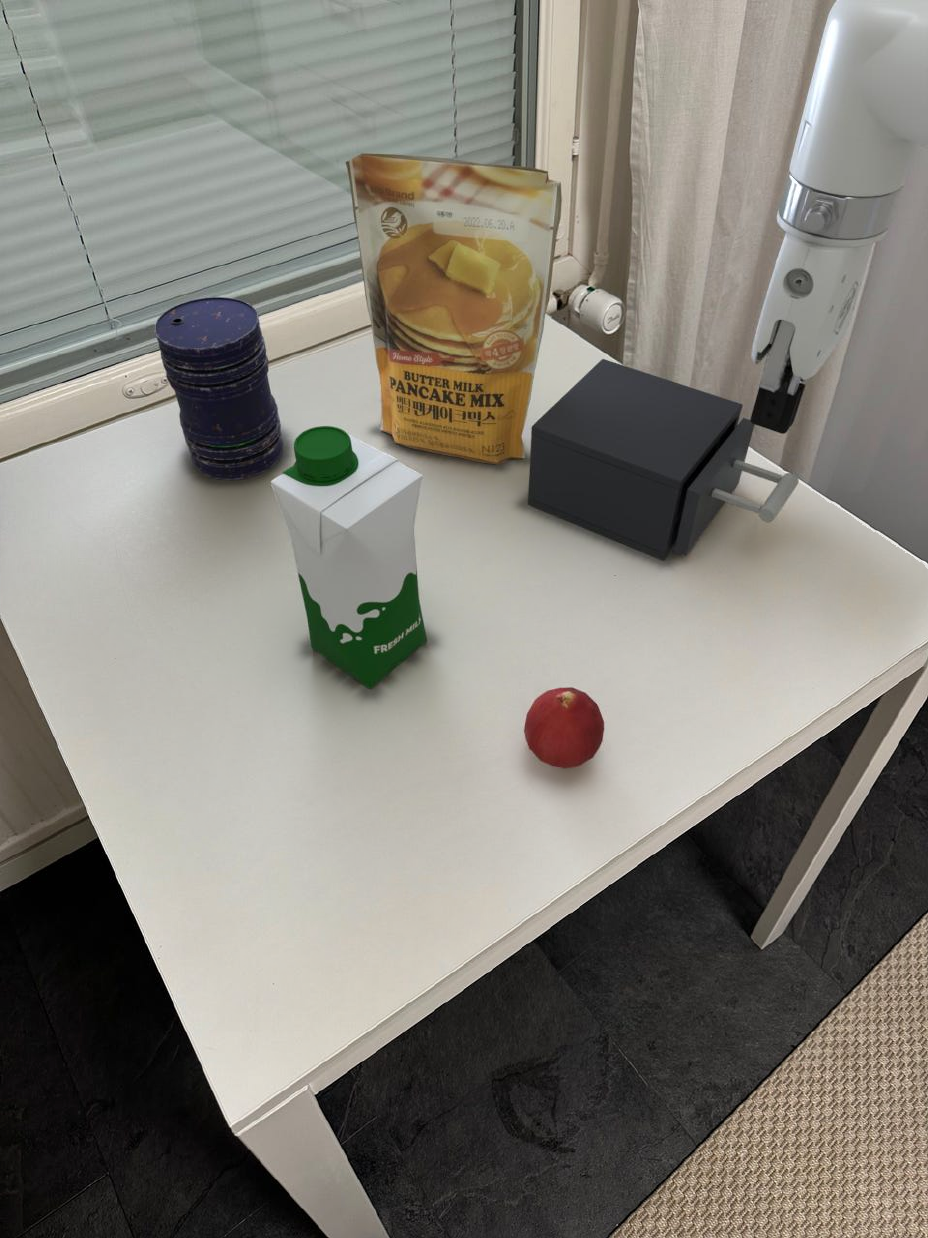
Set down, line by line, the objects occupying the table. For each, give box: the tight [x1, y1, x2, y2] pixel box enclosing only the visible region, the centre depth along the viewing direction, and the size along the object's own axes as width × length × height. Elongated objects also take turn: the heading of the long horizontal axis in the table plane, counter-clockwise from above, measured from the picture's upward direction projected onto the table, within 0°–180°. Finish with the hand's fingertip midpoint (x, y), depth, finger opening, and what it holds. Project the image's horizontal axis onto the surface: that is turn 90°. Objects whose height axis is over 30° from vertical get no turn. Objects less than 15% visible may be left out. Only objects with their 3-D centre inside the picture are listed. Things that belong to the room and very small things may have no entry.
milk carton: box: [270, 425, 428, 690], centre depth 69 cm, size 9×9×20 cm
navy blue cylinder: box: [154, 296, 285, 481], centre depth 89 cm, size 10×10×15 cm
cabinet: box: [527, 358, 743, 561], centre depth 86 cm, size 15×14×9 cm
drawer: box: [673, 417, 800, 557], centre depth 84 cm, size 20×13×7 cm, turn 56°
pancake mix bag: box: [344, 152, 563, 466], centre depth 86 cm, size 7×19×28 cm, turn 71°
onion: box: [523, 686, 605, 769], centre depth 65 cm, size 6×6×8 cm
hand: (771, 423), depth 75 cm, fingers closed
